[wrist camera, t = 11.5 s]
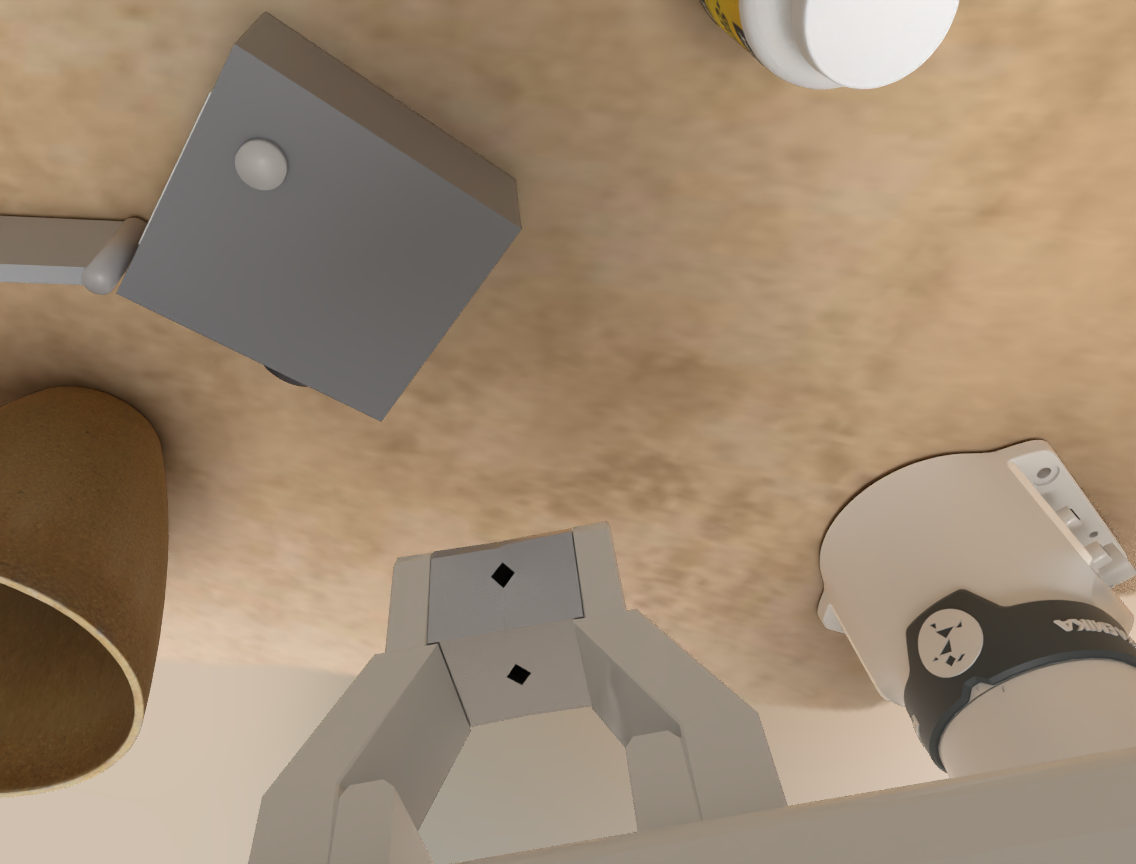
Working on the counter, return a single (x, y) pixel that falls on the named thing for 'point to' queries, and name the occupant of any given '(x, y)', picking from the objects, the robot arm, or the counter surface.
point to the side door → (68, 251)
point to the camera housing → (320, 224)
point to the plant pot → (77, 584)
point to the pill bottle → (836, 37)
